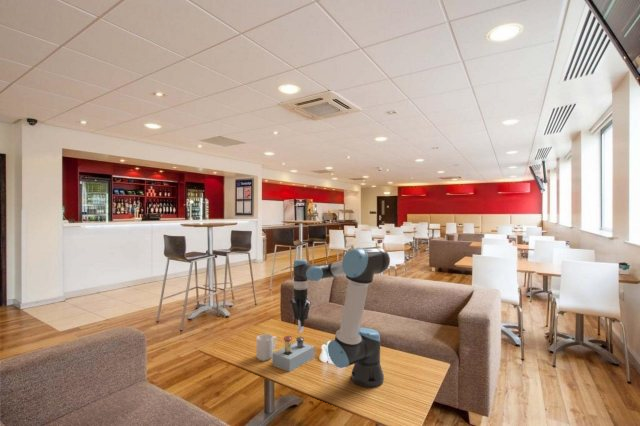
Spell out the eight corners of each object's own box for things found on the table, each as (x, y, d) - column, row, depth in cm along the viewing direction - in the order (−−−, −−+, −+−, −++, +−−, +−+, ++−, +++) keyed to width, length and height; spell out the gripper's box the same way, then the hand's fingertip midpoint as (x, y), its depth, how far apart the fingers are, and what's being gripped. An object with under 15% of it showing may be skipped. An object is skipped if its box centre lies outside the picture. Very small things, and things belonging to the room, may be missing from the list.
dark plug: (305, 354, 174) (305, 338, 174) (300, 357, 170) (300, 340, 170) (299, 352, 176) (299, 336, 176) (294, 355, 173) (294, 338, 173)
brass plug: (293, 354, 166) (293, 337, 166) (287, 357, 162) (288, 339, 162) (287, 352, 168) (287, 335, 168) (282, 355, 165) (282, 337, 165)
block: (314, 357, 174) (314, 346, 174) (289, 371, 157) (289, 359, 158) (297, 351, 181) (297, 341, 181) (272, 364, 165) (272, 353, 165)
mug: (263, 363, 167) (263, 341, 167) (253, 357, 173) (253, 337, 173) (280, 355, 175) (281, 335, 175) (270, 351, 181) (271, 331, 181)
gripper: (314, 288, 173) (314, 332, 172) (295, 285, 180) (296, 327, 180) (305, 291, 167) (305, 336, 166) (287, 288, 174) (287, 331, 174)
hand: (300, 331), depth 173 cm, fingers closed
